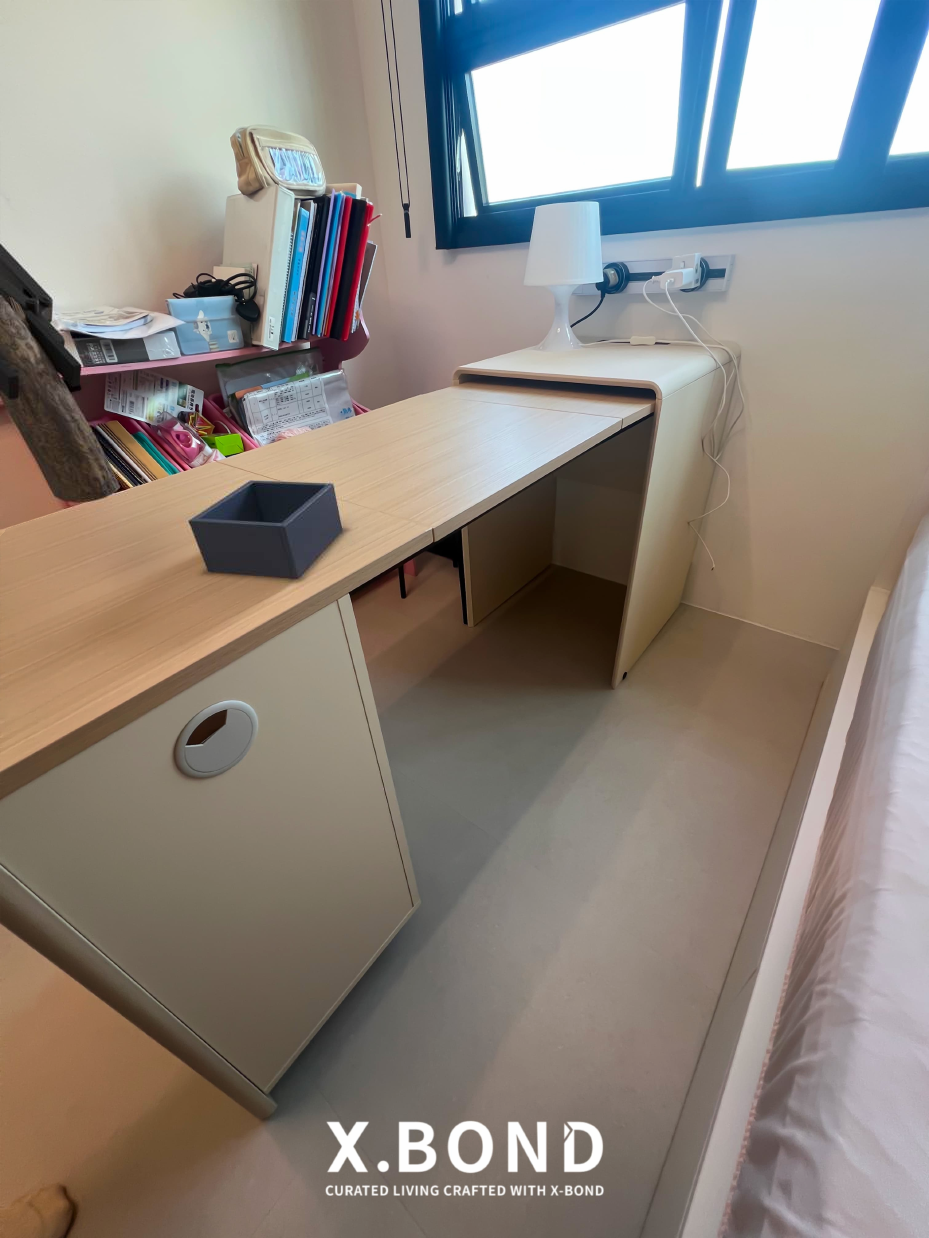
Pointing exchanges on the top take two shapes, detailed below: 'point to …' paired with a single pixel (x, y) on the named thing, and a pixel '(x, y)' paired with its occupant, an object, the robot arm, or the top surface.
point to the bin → (268, 528)
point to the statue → (51, 416)
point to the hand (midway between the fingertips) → (46, 381)
